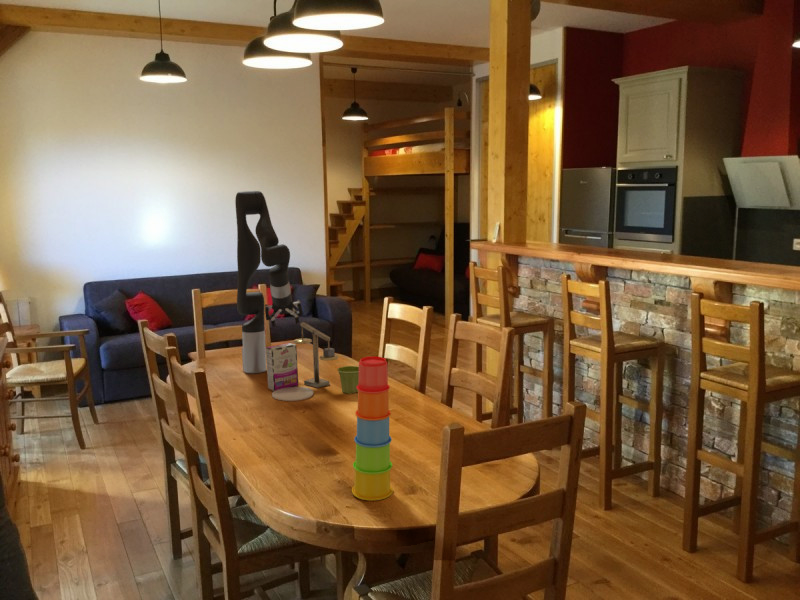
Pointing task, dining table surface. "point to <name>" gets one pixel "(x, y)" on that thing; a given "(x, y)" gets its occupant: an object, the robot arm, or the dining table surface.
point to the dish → (292, 393)
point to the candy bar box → (282, 366)
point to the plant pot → (349, 378)
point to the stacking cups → (372, 432)
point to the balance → (327, 355)
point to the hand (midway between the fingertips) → (285, 324)
